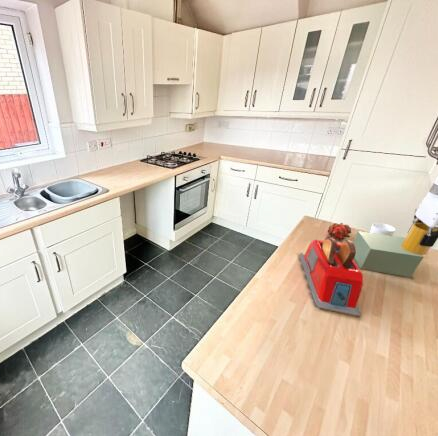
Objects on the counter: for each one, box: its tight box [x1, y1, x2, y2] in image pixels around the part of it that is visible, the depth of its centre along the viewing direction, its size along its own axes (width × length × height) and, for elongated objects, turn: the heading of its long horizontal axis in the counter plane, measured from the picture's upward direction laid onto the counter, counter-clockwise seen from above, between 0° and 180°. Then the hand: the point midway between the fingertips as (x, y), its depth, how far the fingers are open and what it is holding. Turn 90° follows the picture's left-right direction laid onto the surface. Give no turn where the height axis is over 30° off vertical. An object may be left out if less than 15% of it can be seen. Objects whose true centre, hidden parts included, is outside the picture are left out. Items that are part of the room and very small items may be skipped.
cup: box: [401, 223, 437, 256], centre depth 83 cm, size 6×6×9 cm
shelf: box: [352, 230, 425, 278], centre depth 100 cm, size 16×14×10 cm
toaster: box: [299, 237, 364, 318], centre depth 89 cm, size 32×13×19 cm, turn 161°
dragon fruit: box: [327, 222, 352, 241], centre depth 118 cm, size 8×8×12 cm
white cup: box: [368, 222, 397, 236], centre depth 111 cm, size 8×8×10 cm
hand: (419, 239), depth 83 cm, fingers closed on cup, 6 cm apart
